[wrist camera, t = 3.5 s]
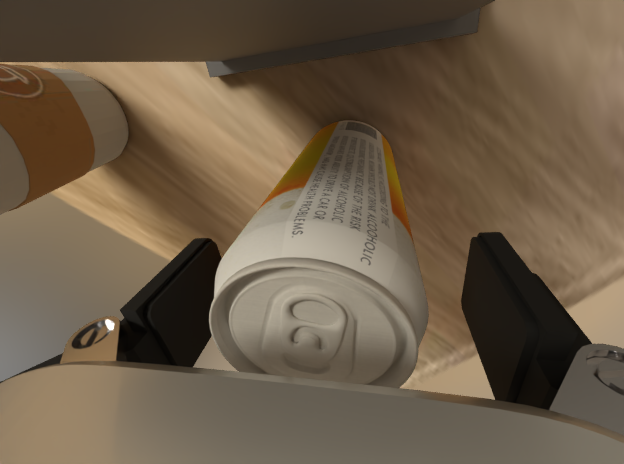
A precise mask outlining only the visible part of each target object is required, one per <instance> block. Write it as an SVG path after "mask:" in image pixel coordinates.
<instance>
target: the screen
mask: <svg viewBox="0 0 624 464" xmlns="http://www.w3.org/2000/svg"><path fill="white" fill-rule="evenodd" d="M492 1H495V0H0V62H206V65H207V68H208V72H209V76H210V77H217V76H223V75H229V74H235V73H241V72H247V71H253V70H259V69H265V68H271V67H277V66H283V65H289V64H295V63H300V62H306V61H312V60H318V59H324V58H330V57H336V56H342V55H348V54H354V53H360V52H366V51H372V50H378V49H384V48H390V47H396V46H401V45H407V44H413V43H419V42H425V41H431V40H437V39H443V38H449V37H455V36H461V35H467V34H472V33H476V32H477V30H478V22H479V14H480V7H482V6H484V5H486V4H488V3H490V2H492Z"/></svg>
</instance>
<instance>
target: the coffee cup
mask: <svg viewBox="0 0 624 464" xmlns="http://www.w3.org/2000/svg"><path fill="white" fill-rule="evenodd" d="M128 135H129V132H128V123H127V120H126V117H125V114H124V112H123V110H122V108H121V106H120V104H119V103H118V101H117V100H116V99H115V97H114V96H113V95H112V93H111V92H110V91H109V90H107V89H106V88H105V87H104V86H103V85H102V84H101V83H99V82H98V81H96V80H94V79H93V78H91V77H88V76H86V75H85V74H83V73H80V72H77V71H74V70H70V69H51V68H38V67H34V66H25V65H8V64H0V215H1V214H3V213H5V212H7V211H10V210H13V209H17V208H19V207H21V206H23V205H25V204H27V203H29V202H31V201H33V200H35V199H37V198H39V197H41V196H43V195H45V194H47V193H49V192H51V191H53V190H55V189H57V188H59V187H61V186H63V185H65V184H67V183H69V182H71V181H74V180H76V179H78V178H80V177H82V176H84V175H85V174H86V173H87V172H89V171H91V170H93V169H95V168H97V167H99V166H101V165H103V164H106V163H108V162H110V161H112V160H114V159H115V158H117V157H118V156H119V155H121V153H122V151H123V149H124V148H125V146H126V144H127V141H128Z"/></svg>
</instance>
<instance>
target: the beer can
mask: <svg viewBox="0 0 624 464" xmlns="http://www.w3.org/2000/svg"><path fill="white" fill-rule="evenodd" d="M427 323H428V303H427V298H426V293H425V289H424V285H423V281H422V277H421V272H420V268H419V264H418V260H417V255H416V251H415V247H414V243H413V238H412V234H411V230H410V226H409V221H408V217H407V213H406V209H405V204H404V200H403V196H402V192H401V187H400V183H399V179H398V175H397V170H396V166H395V162H394V158H393V153H392V150H391V147H390V145H389V143H388V141H387V140H386V139H385V137H384V136H383V135H382V134H381V133H380V132H379V131H378V130H377V129H375V128H374V127H372V126H370V125H368V124H366V123H363V122H359V121H353V120H344V121H338V122H335V123H332V124H330V125H328V126H326V127H324V128H323V129H321V130H320V131H319V132H318V133H317V134H316V135H315V136H314V137H313V138H312V139H311V141H310V142H309V143H308V145H307V146H306V147H305V149H304V150H303V151H302V153H301V154H300V155H299V156H298V158H297V159H296V160H295V162H294V163H293V164H292V166H291V167H290V168H289V170H288V171H287V172H286V174H285V175H284V176H283V178H282V179H281V180H280V182H279V183H278V184H277V186H276V187H275V188H274V190H273V191H272V192H271V193H270V195H269V196H268V197H267V199H266V200H265V201H264V203H263V204H262V205H261V207H260V208H259V209H258V211H257V212H256V213H255V215H254V216H253V217H252V219H251V220H250V221H249V223H248V224H247V225H246V227H245V228H244V229H243V231H242V232H241V233H240V234H239V236H238V237H237V238H236V240H235V241H234V242H233V244H232V245H231V246H230V248H229V249H228V250H227V252H226V253H225V255H224V256H223V258H222V259H221V261H220V263H219V266H218V268H217V272H216V276H215V288H214V299H213V302H212V304H211V308H210V312H209V325H210V330H211V334H212V337H213V339H214V341H215V343H216V345H217V347H218V349H219V351H220V352H221V353H222V355H223V356H224V357H225V358H226V360H227V361H228V362H229V363H230V364H231V365H232V366H233V367H234V368H236V370H238V371H239V372H246V373H256V374H266V375H276V376H286V377H296V378H306V379H315V380H325V381H335V382H344V383H354V384H363V385H373V386H382V387H392V388H400V387H401V386H402V385H403V384H404V383H405V382H406V381H407V380H408V378H409V377H410V376H411V374H412V372H413V370H414V369H415V366H416V362H417V358H418V347H419V345H420V342H421V340H422V338H423V336H424V333H425V330H426V327H427Z"/></svg>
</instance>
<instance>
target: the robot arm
mask: <svg viewBox="0 0 624 464" xmlns="http://www.w3.org/2000/svg"><path fill="white" fill-rule="evenodd" d="M221 259H222V258H221V256H220V253H219V250H218V247H217V245H216V243H215V242H213V241H212V240H211V239H210V238H197V239H194V240H193V241H192V242H191V243H190V244H189V245H188V246H187V247H186V248H184V249H183V250H182V251H181V252H180V253H179V254H178V255H177V256H176V257H175V258H174V259H173V260H172V261H171V262H170V263H169V264H168V265H167V266H166V267H165V268H164V269H162V270H161V271H160V272H159V273H158V274H157V275H156V276H155V277H154V278H153V279H152V280H151V281H150V282H149V283H148V284H147V285H146V286H145V287H143V288H142V289H141V290H140V291H139V292H138V293H137V294H136V295H135V296H134V297H133V298H132V299H131V300H130V301H129V302H128V303H127V304H126V305H125V306H124V307H122V308H121V309H120V311H121V313H122V314H123V316H124V319H123V320H122V321H121V322H120V320H119V319H118V318H117V317H114V316H109V317H103V318H99V319H96V320H94V321H92V322H90V323H88V324H86V325H85V326H83V327H82V328H80V329H79V330H78V331H77V332H75V333H74V334H73V335H72V336H71V338H70V339H69V340H68V342H67V344H66V346H65V349H64V352H63V353H62V354H60V355H58V356H56V357H54V358H52V359H49V360H47V361H45V362H43V363H41V364H38V365H36V366H34V367H32V368H30V369H28V370H25V371H23V372H21V373H19V374H17V375H15V376H12V377H10V378H8V379H6V380H4V381H1V382H0V464H624V349H622V348H619V347H617V346H611V345H606V344H592V343H591V341H590V340H589V339H588V338H587V336H586V335H585V334H584V333H583V331H582V330H581V329H580V328H579V326H578V325H577V324H576V323H575V321H574V320H573V319H572V317H571V316H570V315H569V314H568V313H567V311H566V310H565V309H564V307H563V306H562V305H561V304H560V302H559V301H558V300H557V299H556V297H555V296H554V295H553V294H552V292H551V291H550V290H549V288H548V287H547V286H546V285H545V283H544V282H543V281H542V280H541V278H540V277H539V276H538V275H537V274H534V273H532V272H531V271H530V270H529V268H528V267H527V266H526V264H525V263H524V262H523V261H522V259H521V258H520V257H519V255H518V254H517V253H516V252H515V250H514V249H513V248H512V246H511V245H510V244H509V242H508V241H507V240H506V239H505V237H504V236H503V235H502V234H501V233H500V232H488V233H479V234H478V236H477V237H473V238H472V239H471V243H470V249H469V256H468V262H467V268H466V274H465V280H464V286H463V293H462V299H461V304H462V310H463V313H464V315H465V318H466V321H467V324H468V326H469V329H470V332H471V335H472V337H473V340H474V343H475V345H476V348H477V351H478V354H479V356H480V359H481V362H482V364H483V367H484V370H485V373H486V375H487V378H488V381H489V383H490V386H491V389H492V392H493V395H494V397H495V400H492V399H485V398H477V397H469V396H461V395H452V394H444V393H436V392H428V391H420V390H410V389H401V388H392V387H382V386H373V385H363V384H354V383H344V382H335V381H325V380H315V379H306V378H296V377H286V376H276V375H266V374H256V373H246V372H235V371H224V370H214V369H204V368H193V366H194V364H195V362H196V361H197V359H198V357H199V356H200V354H201V352H202V351H203V349H204V348H205V346H206V344H207V342H208V341H209V339H210V338H211V336H212V334H211V330H210V325H209V312H210V308H211V304H212V302H213V299H214V288H215V276H216V272H217V268H218V266H219V263H220V261H221Z"/></svg>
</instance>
